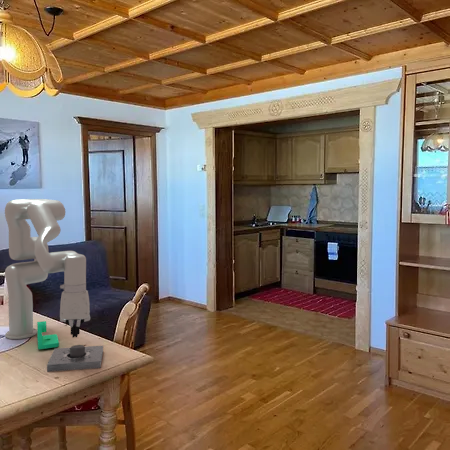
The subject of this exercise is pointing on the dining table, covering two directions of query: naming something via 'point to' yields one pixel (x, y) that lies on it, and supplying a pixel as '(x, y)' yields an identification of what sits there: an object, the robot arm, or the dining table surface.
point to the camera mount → (45, 337)
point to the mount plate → (75, 359)
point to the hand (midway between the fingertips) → (75, 336)
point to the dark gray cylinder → (77, 351)
